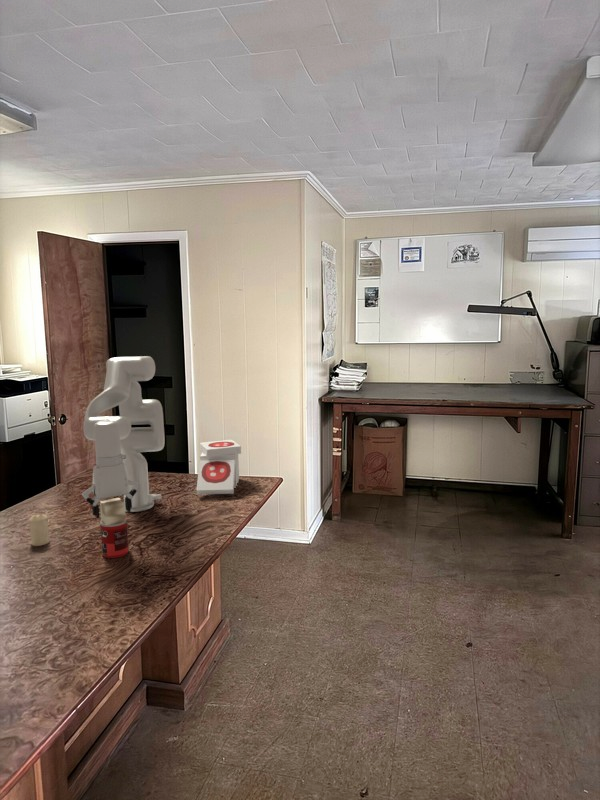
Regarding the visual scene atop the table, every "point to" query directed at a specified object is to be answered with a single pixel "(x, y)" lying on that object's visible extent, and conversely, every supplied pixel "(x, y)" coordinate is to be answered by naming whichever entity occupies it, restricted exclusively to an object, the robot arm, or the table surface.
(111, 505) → the birch block
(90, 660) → the table surface
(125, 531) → the canned food
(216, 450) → the pizza boxes
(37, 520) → the candle
